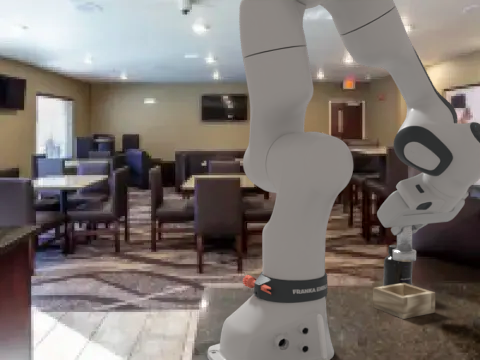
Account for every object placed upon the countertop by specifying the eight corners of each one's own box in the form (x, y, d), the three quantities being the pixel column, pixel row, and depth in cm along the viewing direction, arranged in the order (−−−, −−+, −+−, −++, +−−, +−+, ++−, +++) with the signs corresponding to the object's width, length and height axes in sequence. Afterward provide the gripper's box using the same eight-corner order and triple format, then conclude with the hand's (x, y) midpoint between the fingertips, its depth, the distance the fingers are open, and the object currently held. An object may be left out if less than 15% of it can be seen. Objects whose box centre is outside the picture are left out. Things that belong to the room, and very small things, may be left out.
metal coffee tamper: (404, 262, 112) (404, 212, 112) (387, 258, 117) (388, 209, 116) (420, 260, 115) (421, 210, 114) (404, 256, 119) (404, 208, 119)
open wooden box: (402, 318, 110) (403, 298, 110) (372, 307, 119) (373, 287, 118) (434, 312, 114) (435, 292, 114) (403, 301, 123) (403, 282, 123)
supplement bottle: (407, 299, 125) (408, 249, 124) (379, 294, 129) (380, 247, 128) (415, 292, 131) (415, 245, 130) (388, 288, 134) (388, 242, 134)
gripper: (463, 178, 113) (428, 217, 123) (392, 181, 104) (360, 223, 113) (481, 200, 110) (443, 239, 119) (409, 205, 100) (374, 247, 110)
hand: (402, 231), depth 116 cm, fingers closed on metal coffee tamper, 3 cm apart
